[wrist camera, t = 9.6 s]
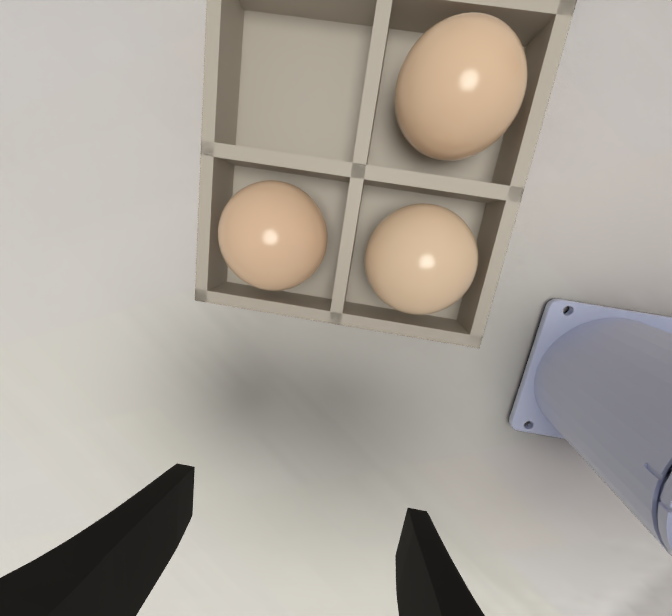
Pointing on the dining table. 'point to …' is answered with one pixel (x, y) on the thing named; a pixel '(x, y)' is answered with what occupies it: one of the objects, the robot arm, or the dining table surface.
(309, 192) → the egg tray
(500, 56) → the loose egg
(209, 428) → the dining table surface
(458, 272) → the seated egg
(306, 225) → the seated egg
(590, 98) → the dining table surface
